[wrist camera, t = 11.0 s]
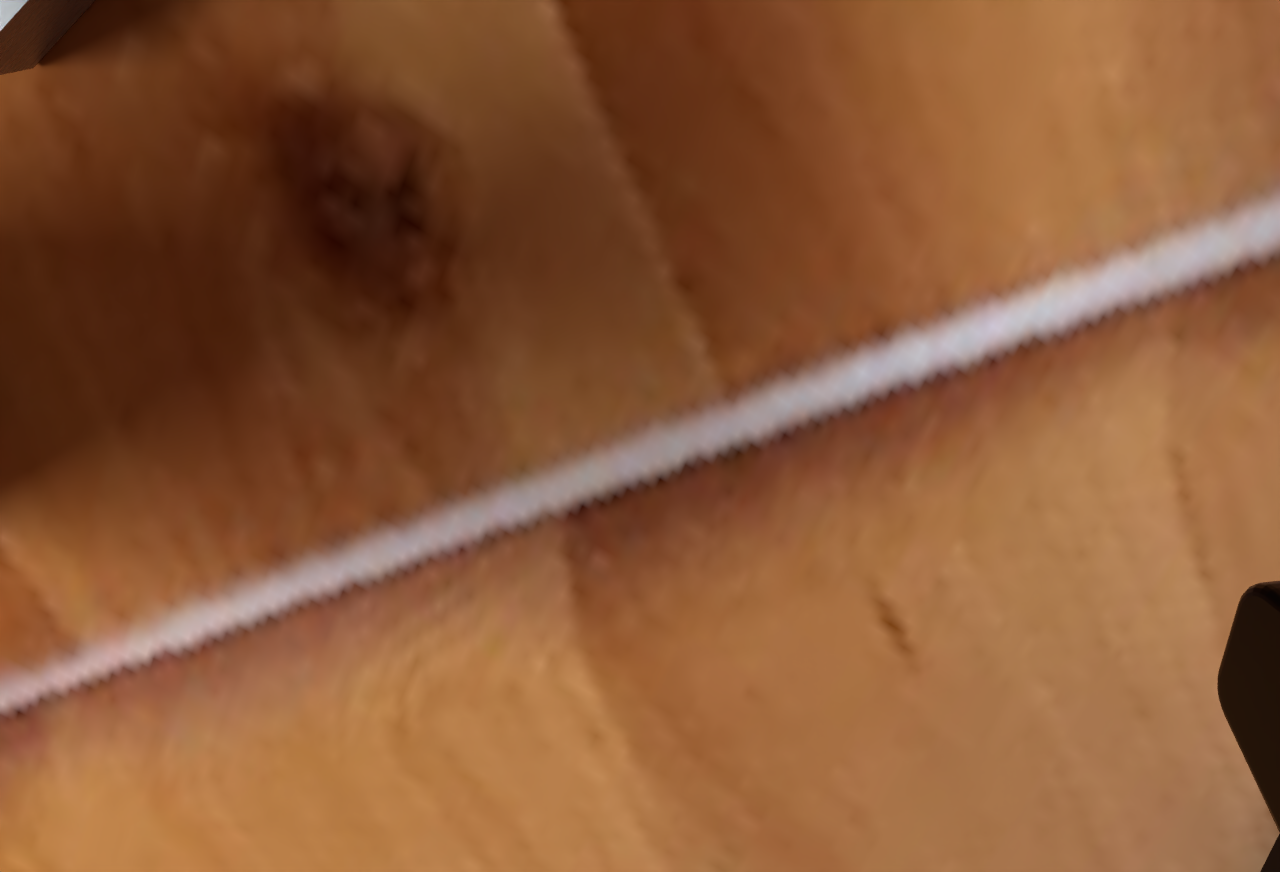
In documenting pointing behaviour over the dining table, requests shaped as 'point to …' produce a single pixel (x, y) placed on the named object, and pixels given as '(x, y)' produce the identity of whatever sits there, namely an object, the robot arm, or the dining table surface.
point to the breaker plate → (34, 29)
